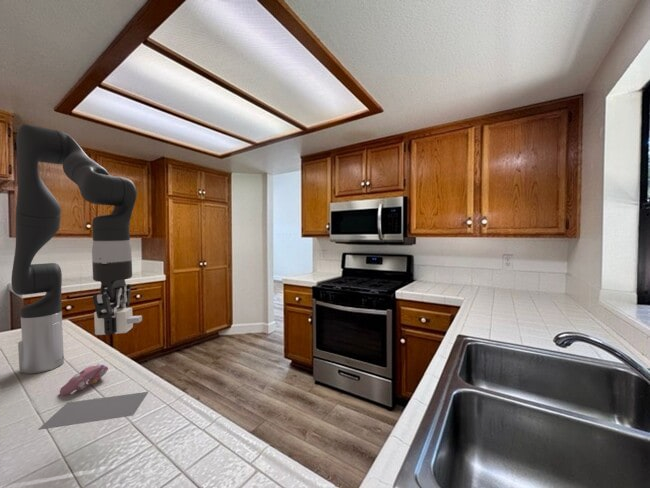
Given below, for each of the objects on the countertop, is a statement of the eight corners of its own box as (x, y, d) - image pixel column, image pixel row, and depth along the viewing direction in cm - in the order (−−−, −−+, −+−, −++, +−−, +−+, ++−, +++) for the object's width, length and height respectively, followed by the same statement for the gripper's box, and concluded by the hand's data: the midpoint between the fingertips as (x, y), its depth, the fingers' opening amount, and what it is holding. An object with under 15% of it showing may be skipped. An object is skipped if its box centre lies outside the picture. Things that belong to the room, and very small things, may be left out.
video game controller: (69, 404, 73) (78, 381, 72) (56, 394, 74) (65, 372, 73) (105, 384, 83) (113, 363, 82) (93, 376, 83) (101, 356, 82)
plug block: (91, 335, 65) (90, 314, 65) (100, 329, 69) (99, 309, 69) (137, 331, 67) (136, 311, 67) (143, 326, 71) (143, 306, 71)
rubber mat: (38, 431, 60) (37, 429, 60) (67, 404, 70) (67, 402, 70) (133, 417, 65) (133, 415, 65) (148, 393, 75) (148, 391, 75)
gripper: (109, 257, 73) (111, 322, 74) (75, 263, 59) (79, 343, 60) (141, 256, 75) (143, 320, 76) (116, 262, 61) (119, 339, 62)
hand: (115, 330), depth 68 cm, fingers closed on plug block, 4 cm apart
